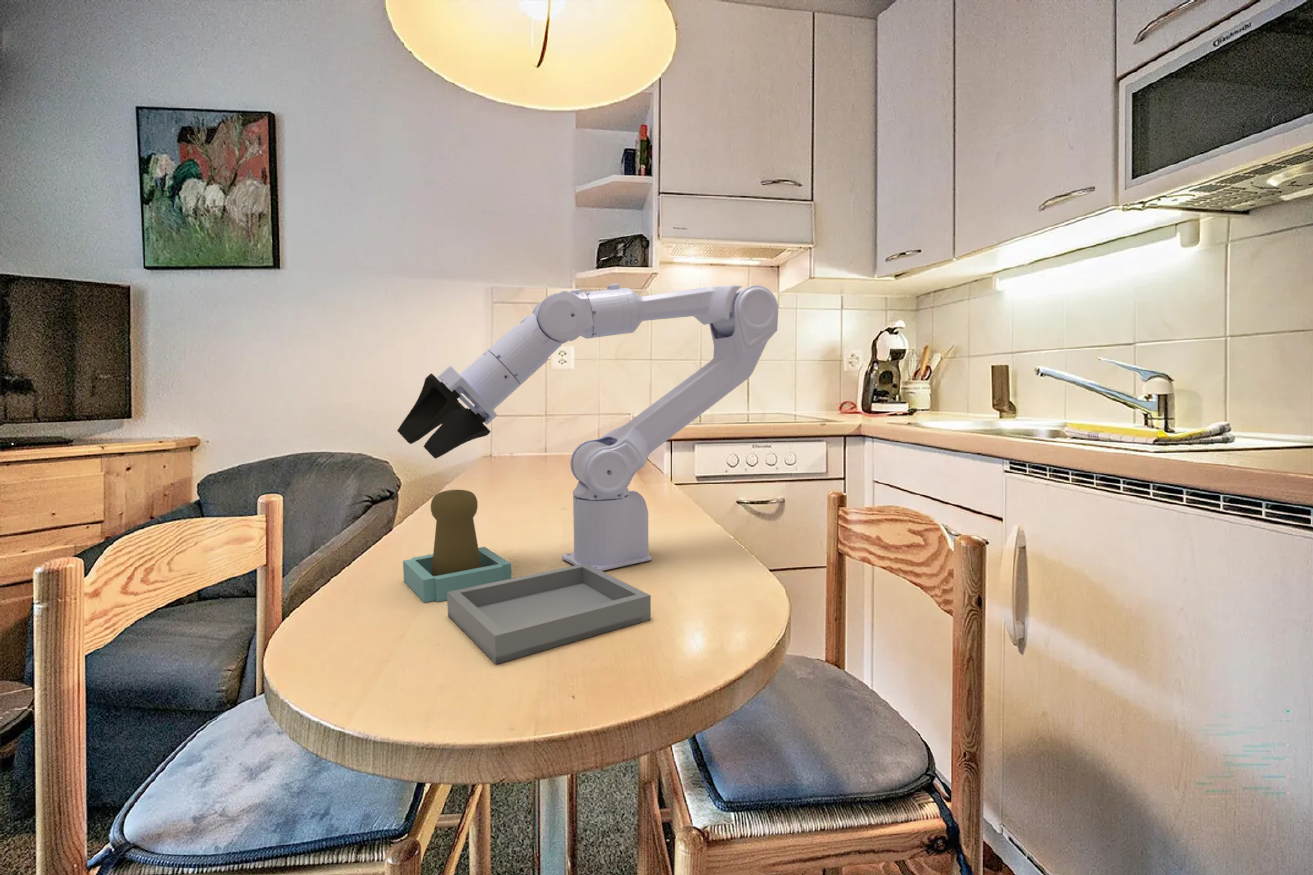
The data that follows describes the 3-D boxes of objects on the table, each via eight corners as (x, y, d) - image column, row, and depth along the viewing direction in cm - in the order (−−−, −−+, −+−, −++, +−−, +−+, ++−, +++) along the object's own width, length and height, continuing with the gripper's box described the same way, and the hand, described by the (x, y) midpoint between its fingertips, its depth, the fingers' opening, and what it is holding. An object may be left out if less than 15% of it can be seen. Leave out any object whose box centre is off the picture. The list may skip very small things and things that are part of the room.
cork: (467, 593, 67) (464, 496, 66) (419, 589, 69) (415, 494, 68) (492, 576, 73) (490, 487, 72) (447, 573, 75) (444, 485, 74)
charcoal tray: (586, 583, 70) (585, 563, 70) (650, 619, 60) (650, 595, 60) (447, 615, 61) (447, 591, 61) (495, 664, 51) (494, 635, 50)
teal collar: (483, 564, 78) (482, 545, 78) (513, 585, 70) (513, 564, 70) (402, 579, 72) (401, 559, 72) (425, 604, 64) (424, 581, 64)
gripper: (497, 367, 81) (419, 437, 78) (463, 320, 67) (366, 404, 64) (533, 403, 79) (454, 475, 77) (505, 362, 65) (408, 449, 63)
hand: (417, 445), depth 71 cm, fingers open, 7 cm apart
